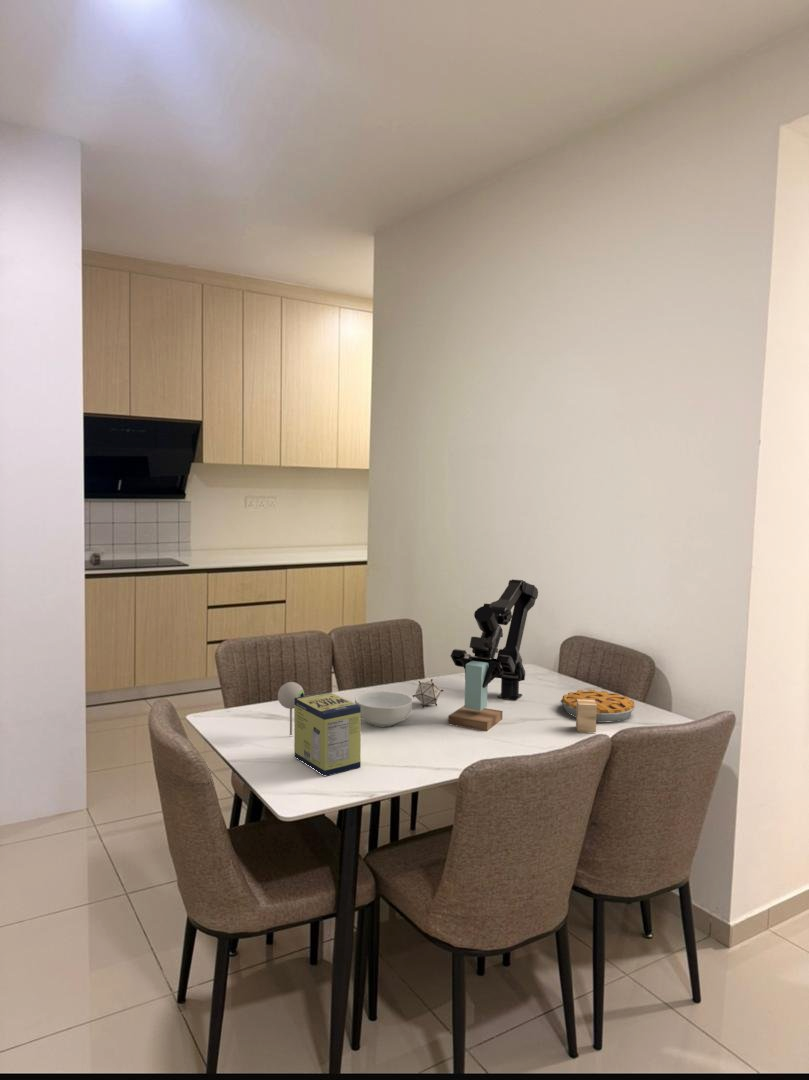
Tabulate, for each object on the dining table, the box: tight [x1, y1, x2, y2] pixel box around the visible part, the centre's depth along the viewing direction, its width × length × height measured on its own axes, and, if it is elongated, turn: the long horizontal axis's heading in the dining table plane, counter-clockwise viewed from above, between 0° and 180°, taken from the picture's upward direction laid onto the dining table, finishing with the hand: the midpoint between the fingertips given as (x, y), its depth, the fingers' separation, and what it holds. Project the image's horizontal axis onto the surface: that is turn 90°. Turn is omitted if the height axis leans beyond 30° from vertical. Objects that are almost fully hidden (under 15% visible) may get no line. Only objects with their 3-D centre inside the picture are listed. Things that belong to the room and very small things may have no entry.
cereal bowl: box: [354, 691, 413, 727], centre depth 219 cm, size 17×17×7 cm
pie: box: [560, 689, 636, 722], centre depth 231 cm, size 22×22×5 cm
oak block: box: [575, 699, 597, 733], centre depth 214 cm, size 5×5×8 cm
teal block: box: [464, 661, 489, 711], centre depth 220 cm, size 5×5×13 cm
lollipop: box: [277, 681, 305, 736], centre depth 205 cm, size 7×7×15 cm
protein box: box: [293, 691, 362, 776], centre depth 187 cm, size 10×16×16 cm
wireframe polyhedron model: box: [412, 678, 444, 709], centre depth 235 cm, size 9×8×10 cm
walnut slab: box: [447, 704, 504, 732], centre depth 221 cm, size 12×12×3 cm
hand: (474, 685), depth 219 cm, fingers closed on teal block, 5 cm apart
